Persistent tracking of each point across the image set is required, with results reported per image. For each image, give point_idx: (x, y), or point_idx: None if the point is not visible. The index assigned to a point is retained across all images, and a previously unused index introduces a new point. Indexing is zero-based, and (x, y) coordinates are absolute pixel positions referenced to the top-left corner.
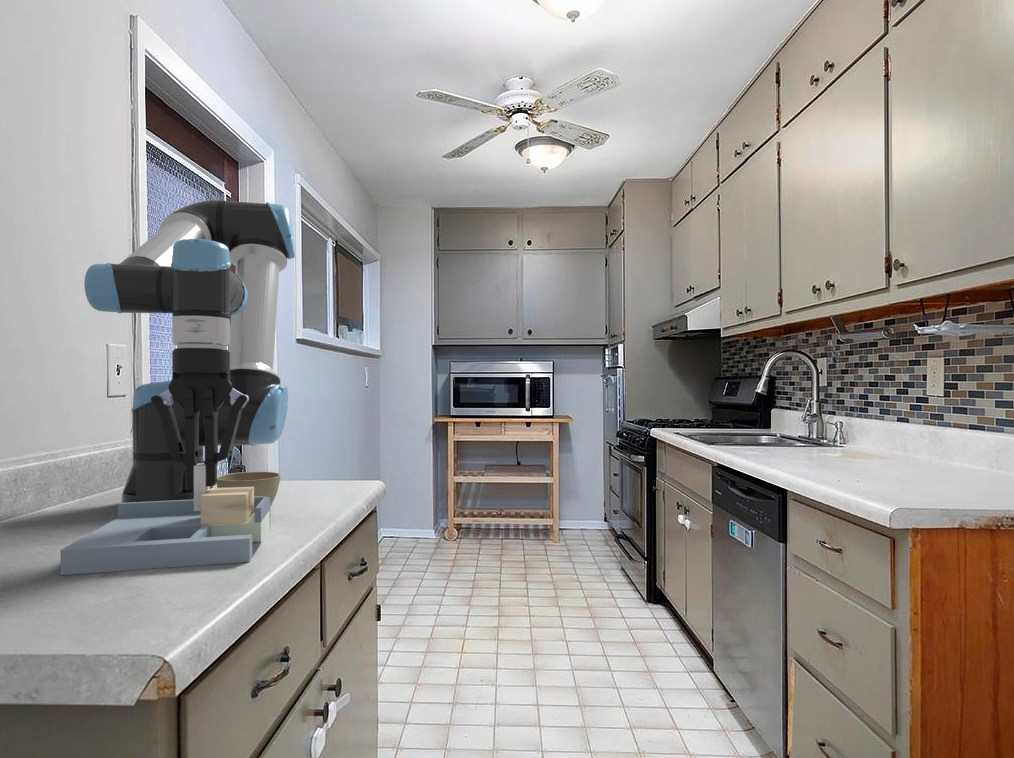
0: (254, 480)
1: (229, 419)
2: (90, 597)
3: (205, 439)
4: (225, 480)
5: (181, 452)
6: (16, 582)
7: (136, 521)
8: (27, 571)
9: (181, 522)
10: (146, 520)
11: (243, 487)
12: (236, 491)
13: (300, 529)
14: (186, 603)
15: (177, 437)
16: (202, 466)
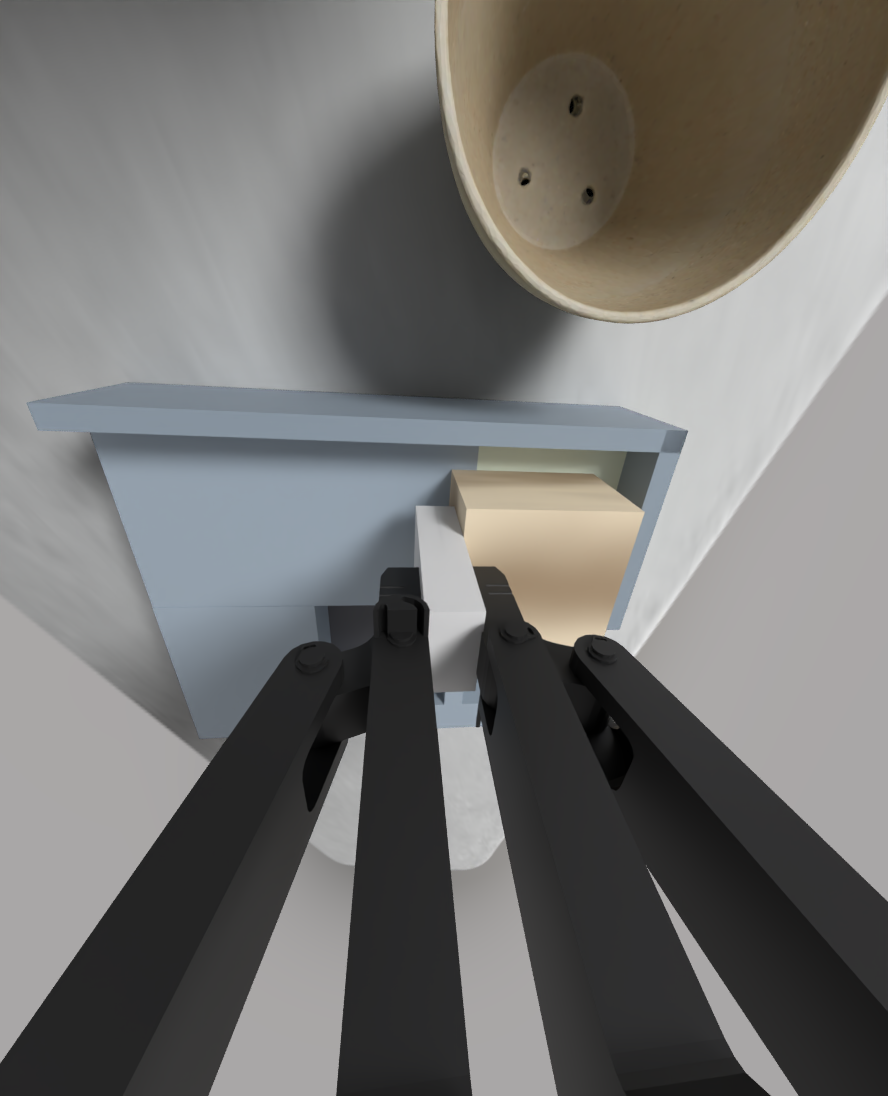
0: (679, 314)
1: (793, 1061)
2: (340, 775)
3: (511, 843)
4: (518, 273)
5: (331, 719)
6: (162, 713)
7: (213, 507)
8: (124, 663)
9: (379, 558)
10: (242, 500)
11: (601, 520)
12: (569, 599)
13: (696, 455)
14: (473, 800)
15: (286, 856)
16: (462, 687)
